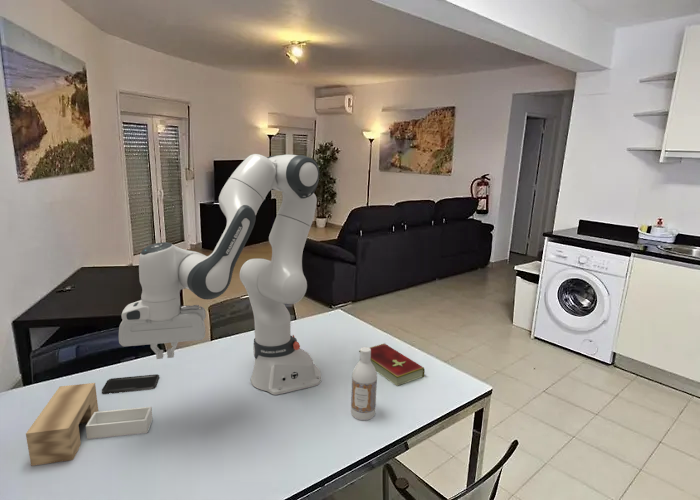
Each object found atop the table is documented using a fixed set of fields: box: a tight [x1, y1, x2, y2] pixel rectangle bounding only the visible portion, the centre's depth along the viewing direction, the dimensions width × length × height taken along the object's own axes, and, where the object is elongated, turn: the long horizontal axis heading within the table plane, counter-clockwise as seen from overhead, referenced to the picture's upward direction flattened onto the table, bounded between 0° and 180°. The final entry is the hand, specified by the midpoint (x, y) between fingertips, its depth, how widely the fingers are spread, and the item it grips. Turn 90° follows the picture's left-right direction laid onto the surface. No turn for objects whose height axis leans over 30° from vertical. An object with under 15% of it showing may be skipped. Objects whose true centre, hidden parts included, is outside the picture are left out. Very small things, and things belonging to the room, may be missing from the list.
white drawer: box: [85, 406, 154, 440], centre depth 110 cm, size 14×6×4 cm, turn 102°
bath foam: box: [350, 346, 378, 421], centre depth 118 cm, size 7×7×20 cm
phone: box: [101, 374, 160, 395], centre depth 131 cm, size 8×1×15 cm
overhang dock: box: [25, 382, 99, 467], centre depth 106 cm, size 8×20×8 cm, turn 15°
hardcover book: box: [358, 343, 426, 387], centre depth 145 cm, size 12×21×4 cm, turn 34°
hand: (165, 357), depth 109 cm, fingers closed
